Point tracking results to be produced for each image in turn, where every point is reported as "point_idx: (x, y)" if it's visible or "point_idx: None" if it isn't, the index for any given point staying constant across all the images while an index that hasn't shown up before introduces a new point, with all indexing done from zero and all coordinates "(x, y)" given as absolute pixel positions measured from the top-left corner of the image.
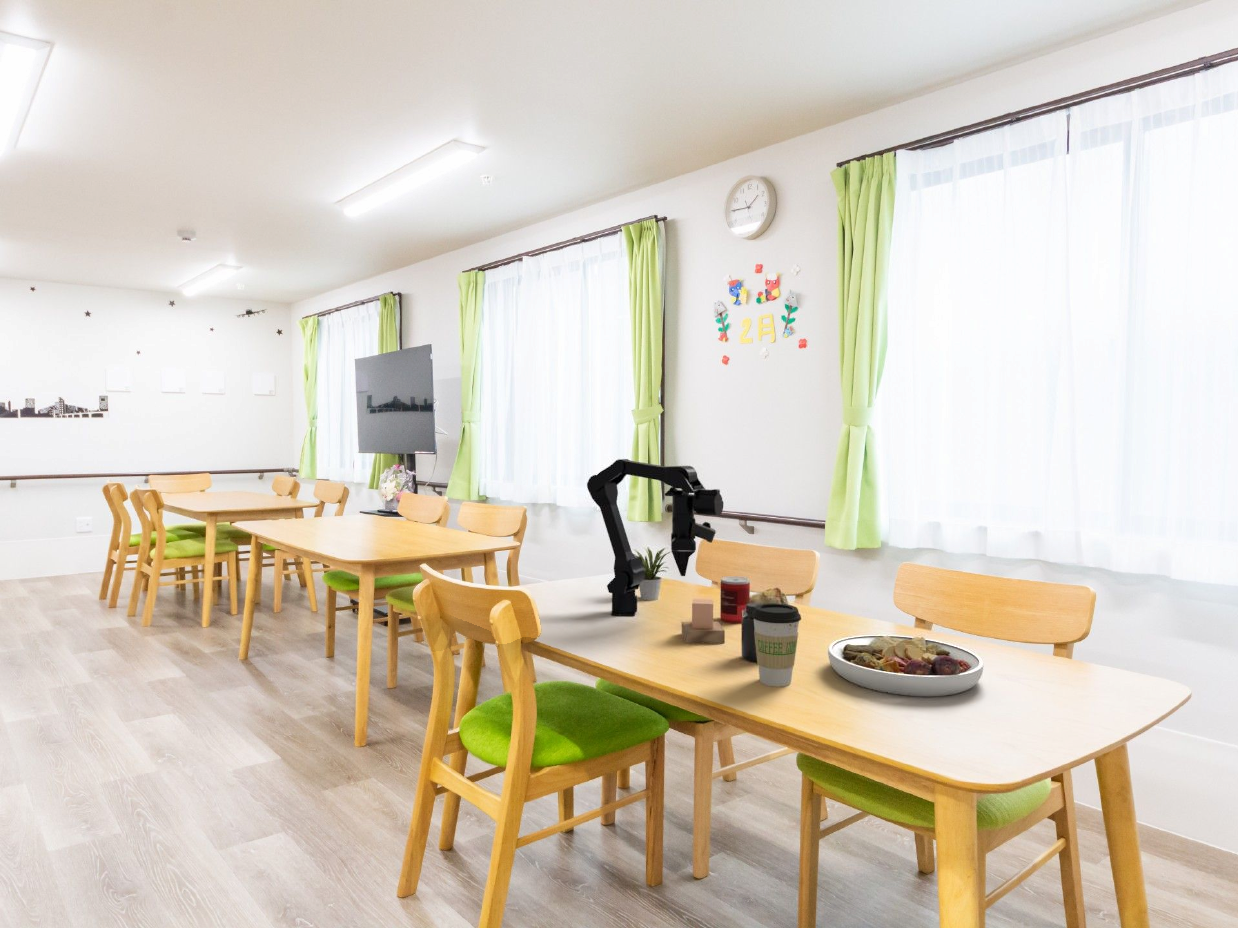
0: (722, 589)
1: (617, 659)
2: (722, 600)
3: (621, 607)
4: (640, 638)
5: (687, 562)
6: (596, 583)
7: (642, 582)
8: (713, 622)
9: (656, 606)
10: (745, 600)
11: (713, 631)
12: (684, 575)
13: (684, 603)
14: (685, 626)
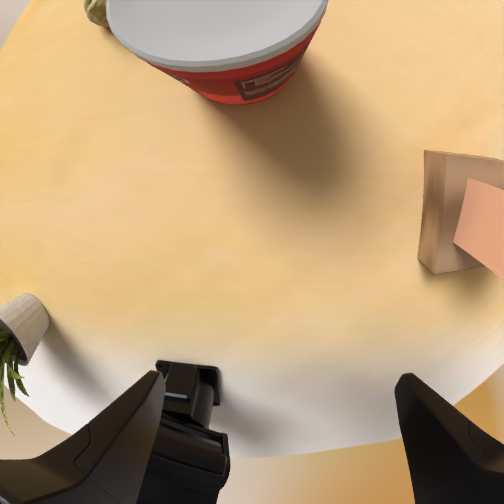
0: (265, 73)
1: (501, 351)
2: (265, 86)
3: (212, 403)
4: (427, 343)
5: (477, 428)
6: None
7: (31, 356)
8: (455, 172)
9: (93, 307)
10: None
11: None
12: (411, 376)
13: (42, 230)
14: (475, 265)
